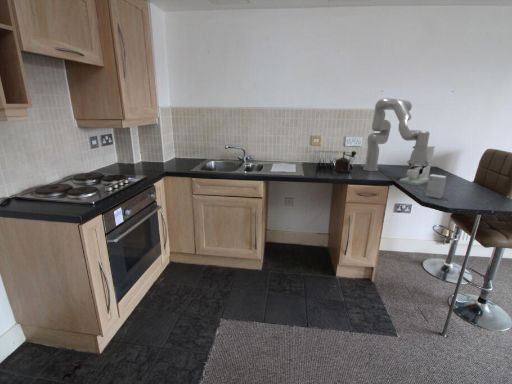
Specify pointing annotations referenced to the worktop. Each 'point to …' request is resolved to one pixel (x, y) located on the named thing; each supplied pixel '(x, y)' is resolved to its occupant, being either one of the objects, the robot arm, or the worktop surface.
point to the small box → (436, 186)
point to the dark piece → (343, 163)
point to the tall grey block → (429, 159)
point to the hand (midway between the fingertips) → (416, 173)
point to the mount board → (414, 180)
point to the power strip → (415, 171)
